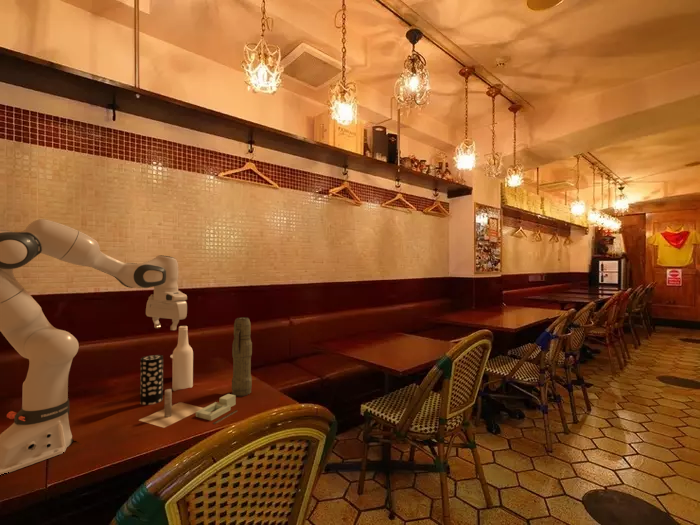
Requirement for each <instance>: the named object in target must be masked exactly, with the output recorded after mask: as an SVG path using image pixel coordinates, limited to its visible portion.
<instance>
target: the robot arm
mask: <svg viewBox="0 0 700 525" xmlns="http://www.w3.org/2000/svg"><path fill="white" fill-rule="evenodd" d="M40 254H43V255H46V256H49V257H52V258H55V259H57V260H59V261H61V262H62V261H63V262H66V263H68V264H72V265H75V266H81V267H87V268H92V269H95V270H97V271H100V272H102V273H104V274H108V275H109V276H111V277H113V278H114V279H116V280H117V281H118V283H120V284H121V285H122V286H124V287H126V288H130V289H133V288H134V289H135V288H137V289H149V288H153V294H150V296H148V298H147V299H148V300H147V302H146V306H145V307H146V308H145V315H146V317H149V318H152V319H151V320H152V322H153V324H154V326H153V327H154V328H155V329H160V328H161V327H162V326H161V325H162V324H161V323H160V321H159V320H160V319H169V320H171V323H172V324H171V325H170V329H169V330H170V331H177V329H178V328H177V326H178V324H179V323H180V320H185V319H186V318H187V316H188V315H187V314H188V303H187V300H188V296H187V294H185V293H183V292H182V291H181V290H179V284H178V280H179V274H180V271H179V263H178V260H177V258H175V257H173V256H168V255H157V256H156V257H154V258H152V259H150V260H148V261H145V262H143V263H137V262H136V263H135V262H123V261H121V260H119V259H116V258H115V257H112V256H110V255H109V254H106V253H104V252H102V251H101V247H100V243H99V242H98V241H97V240H96V239H95V238H93V237H91V235H89V234H86V233H84V232H83V231H80V230H78V229H76V228H73V227H71V226H70V225H69V226H68V225H66V224H62V223H60V222H58V221H54V220H50V219H45V218H40V219H39V218H38V219H35V220H34V221H32V222H30V223H29V224H28V225H27V226H26V228H25V229H24V230H22V231H17V232H16V231H12V230H6V229H0V332H1V334H2V336H3V337H5V339H6V341H8V343H9V344H10V345H11V347H13V348H14V350H15V351H16V352H17V353H18V354H19V355H20V356H21V357H23V358H24V359H27V360H28V361H29V362H28V363H29V365H28V370H27V373H26V376H25V380H24V381H23V383H22V398H21V399H22V404H21V408H20V410H18V412H16V411H13V410H10V411H9V412H8V413H7V414H6V417H7V419H10V420H13V419H14V420H13V421H14V422H13V423H12V424H11V425H10V426H9V427H7V429H5V430H4V431H3V432H1V433H0V475H1V474H4V473H7V474H9V473H12V472H15V471H17V470H20V469H23V468H25V467H28V466H31V465H34V464H37V463H39V462H43V461H45V460H47V459H48V460H49V459H50V458H54V457H56V456H58V455H63V452H64V453H65V452H66V450H67V448H69V447H70V445H71V444H72V443H73V442H74V438H73V435H72V431H71V427H70V420H69V415H70V399H69V398H68V397H69V396H68V395H69V394H68V392H69V387H68V386H69V375H70V371H71V366H72V362H73V359H74V358H75V356H76V355H77V353H78V352H79V348H80V347H79V346H80V344H79V341H78V339H77V338H76V337H75V336H74V335H73V334H71V332H69V331H66V330H65V329H64V330H63V329H59V328H57V327H54V326H53V325H52V324H51V322H49V320H48V319H47V317H46V316H45V314H44V312H43V310H42V309H43V308H42V307H41V306H40V304H39V303H38V302H37V301H36V300H35V299H34V298H33V296H32V295H31V294H30V293H29V292H28V291H27V290H26V289H25V287H24V286H23V285H22V284H21V283H20V282H19V280H18V279H17V278H16V276H14V270H15V269H18V268H21V267H24V266H25V265H27V264H28V263H30V262H31V261H33V259H34V258H36V257H37V256H39V255H40ZM8 472H9V473H8ZM4 475H5V474H4ZM1 476H2V475H1Z"/></svg>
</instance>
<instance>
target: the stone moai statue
mask: <svg viewBox="0 0 700 525" xmlns="http://www.w3.org/2000/svg"><path fill="white" fill-rule="evenodd" d="M251 324H252V323H251V321H250V318H249V317H244V316H243V317H237V318H235V320H234V323H233V341H232V345H231V346H232V348H231V349H232V350H231V352H232V354H231V357H232V358H233V359H232V362H233V363H232V369H233V370H232V378H231V394H232V395H236V397H238V398H239V397H240V398H242V397H246V396H248V394H249V395H251V394H250V393H252V385H253V377H252V374H251V373H252V372H251V371H252V370H251V369H252V368H251V367H252V361H251V360H252V356H253V355H252V354H253V342H252V338H251V334H252V333H251V332H252V331H251V330H252V329H251V327H252V325H251Z"/></svg>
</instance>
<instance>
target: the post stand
mask: <svg viewBox="0 0 700 525" xmlns="http://www.w3.org/2000/svg"><path fill="white" fill-rule="evenodd" d="M172 391H173V389H172V388H167V389H165V390H164V408H163V409H160V410H158V411H156V412H154V413H152V414H149V415H147V416H145V417H142V418H140V419H138V421H139V422H142V423H147V424H150V425H154V426H156V427H160V428H163V429H164V428H167V427H170V426H172V425H174V424H175V423H177V422H179V421H182V420H183V419H186V418H187V417H190V416H191V415H194V414H196V411H198V410H201V409H203V408H204V407H201V406H197V405H192V404H189V403H184V402H181V401H180V402H178V403H175V404H173V403H172V402H173V401H172V400H173V399H172V397H173V396H172V395H173V393H172Z"/></svg>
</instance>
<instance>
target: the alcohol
mask: <svg viewBox="0 0 700 525" xmlns="http://www.w3.org/2000/svg"><path fill="white" fill-rule="evenodd" d="M188 332H189V331H188V326H187V325H180V326H178V336H177V345H176V346H175V348H174V349H173V351H172V355H173V365H172V373H171V374H172V381H171V382H172V388H171V389H172V391H173V392H176V391H178V390H185V389H188V388H191V389H192V388H193V386H194V351H193V348H192V347H191V345H190V344H189V335H188V334H189V333H188Z"/></svg>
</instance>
